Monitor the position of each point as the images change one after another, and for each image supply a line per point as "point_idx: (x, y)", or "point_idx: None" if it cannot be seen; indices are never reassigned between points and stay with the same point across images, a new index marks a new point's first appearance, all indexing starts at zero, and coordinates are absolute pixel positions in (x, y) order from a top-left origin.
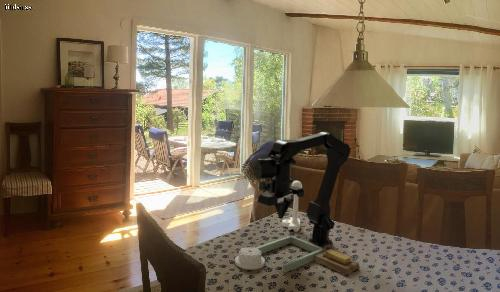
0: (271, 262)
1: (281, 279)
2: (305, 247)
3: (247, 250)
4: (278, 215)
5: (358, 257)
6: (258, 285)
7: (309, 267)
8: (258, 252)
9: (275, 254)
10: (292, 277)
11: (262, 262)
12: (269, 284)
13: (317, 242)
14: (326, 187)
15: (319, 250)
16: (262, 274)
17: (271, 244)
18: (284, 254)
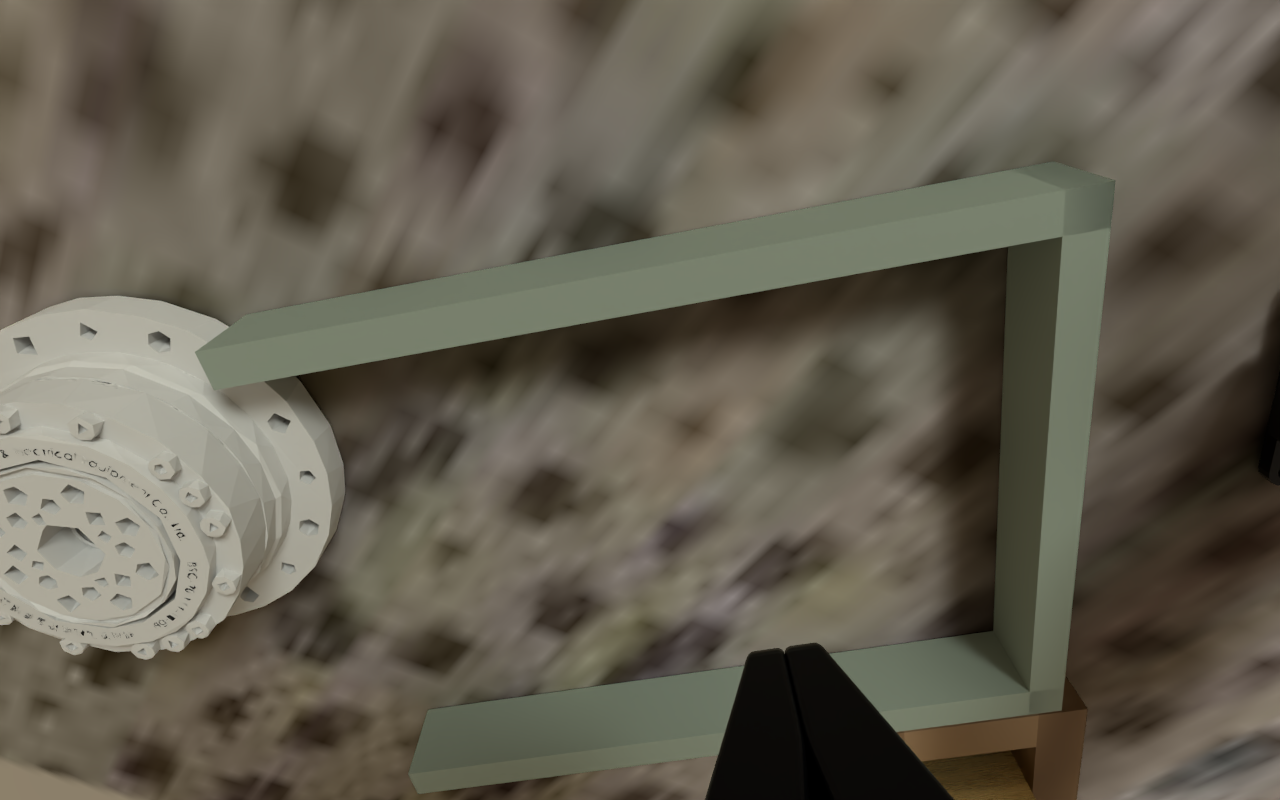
0: (418, 543)
1: (354, 781)
2: (1011, 469)
3: (32, 523)
4: (728, 734)
5: (1246, 776)
6: (131, 777)
7: None
8: (178, 615)
9: (570, 412)
10: (457, 791)
11: (271, 586)
12: (225, 795)
13: (1274, 436)
14: None
15: (980, 710)
16: (225, 677)
17: (584, 318)
18: (671, 457)
